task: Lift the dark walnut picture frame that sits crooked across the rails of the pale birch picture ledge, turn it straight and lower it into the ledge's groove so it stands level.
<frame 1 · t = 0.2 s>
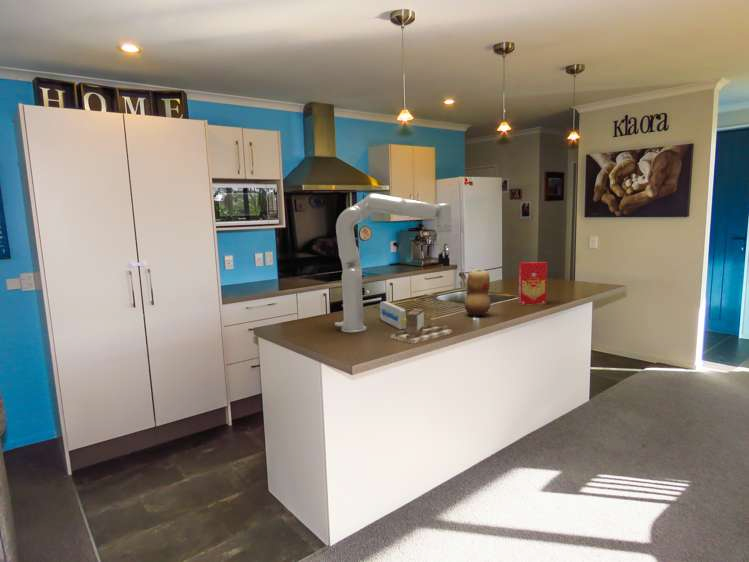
hand: (443, 265, 231), 31 cm above the worktop, tool pointing down, fingers open, 9 cm apart
butternut squash: (477, 315, 259), on the worktop
picture frame: (415, 330, 218), point 3 cm above the worktop, touching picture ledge
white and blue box: (393, 325, 242), on the worktop
food packaging: (532, 304, 285), on the worktop
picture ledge: (422, 335, 221), on the worktop
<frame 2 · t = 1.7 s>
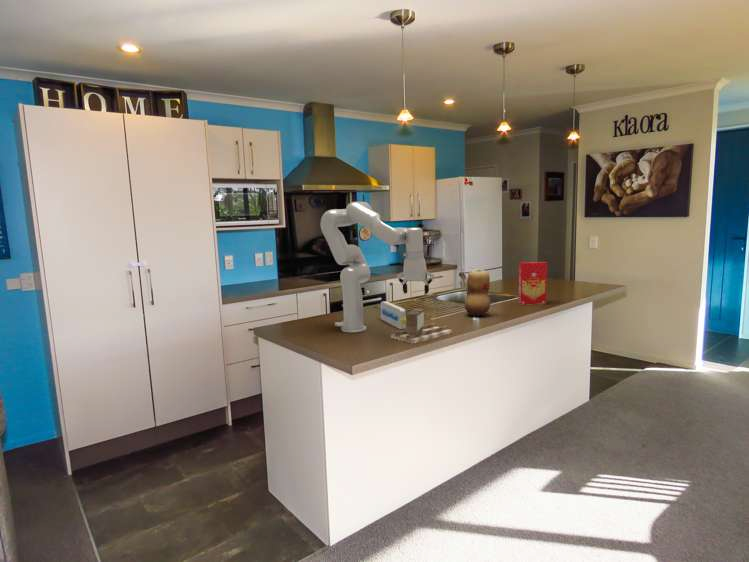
hand: (415, 293, 215), 20 cm above the worktop, tool pointing down, fingers open, 9 cm apart
nothing on the worktop moved.
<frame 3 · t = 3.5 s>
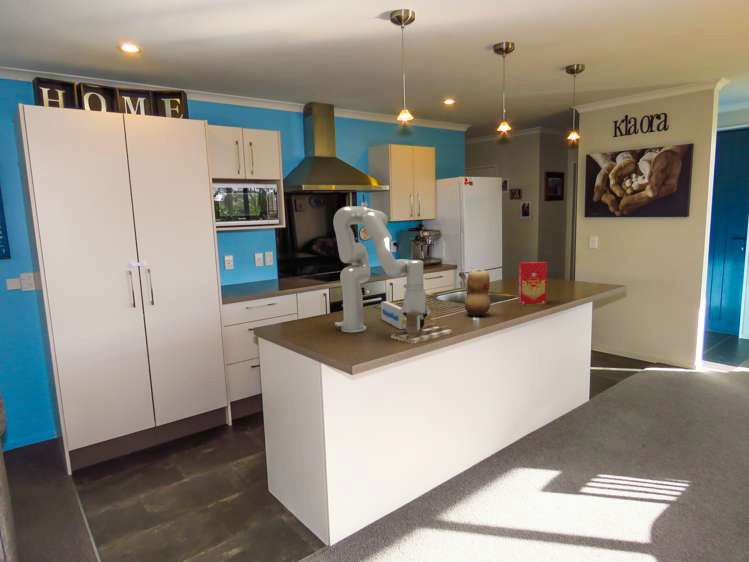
hand: (415, 326, 217), 5 cm above the worktop, tool pointing down, fingers closed on picture frame, 5 cm apart
picture frame: (415, 330, 218), point 3 cm above the worktop, touching gripper, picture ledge
everything else where it was.
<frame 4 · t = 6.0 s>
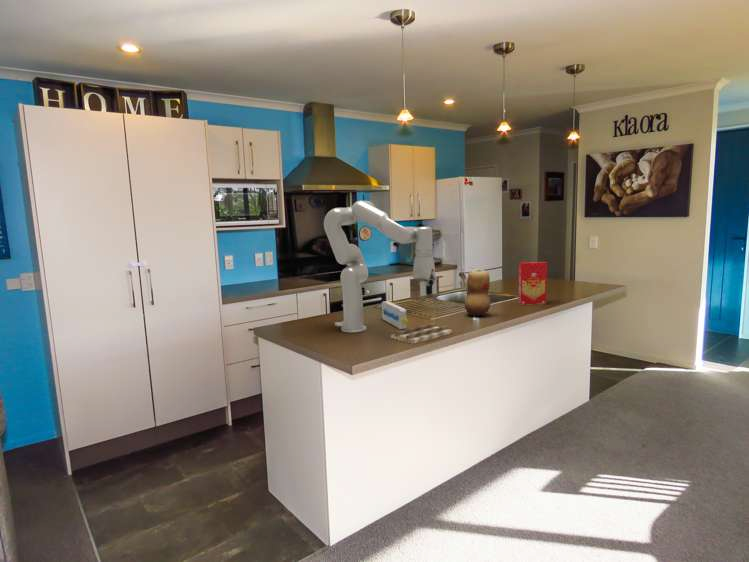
hand: (424, 293, 219), 20 cm above the worktop, tool pointing down, fingers closed on picture frame, 5 cm apart
picture frame: (424, 297, 219), point 18 cm above the worktop, touching gripper
everything else where it was.
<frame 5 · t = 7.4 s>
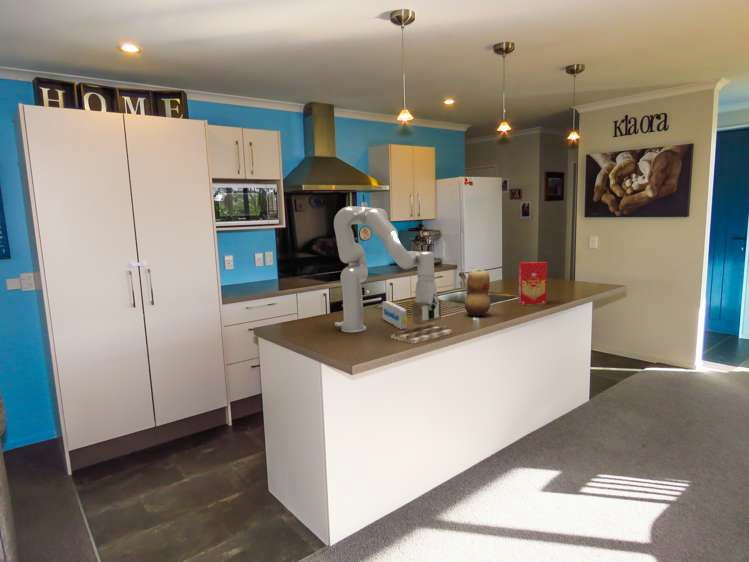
hand: (427, 317, 221), 8 cm above the worktop, tool pointing down, fingers closed on picture frame, 5 cm apart
picture frame: (427, 321, 221), point 6 cm above the worktop, touching gripper
everything else where it was.
when the fingers open (4 cm above the worktop, at t = 8.7 s): picture frame stays where it is, resting on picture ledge.
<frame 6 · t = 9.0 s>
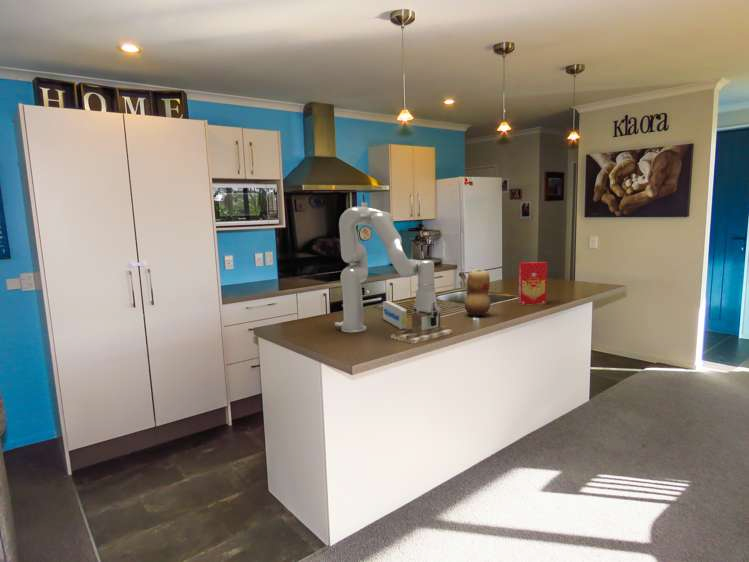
hand: (426, 323, 222), 5 cm above the worktop, tool pointing down, fingers open, 8 cm apart
picture frame: (426, 331, 222), point 1 cm above the worktop, touching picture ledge
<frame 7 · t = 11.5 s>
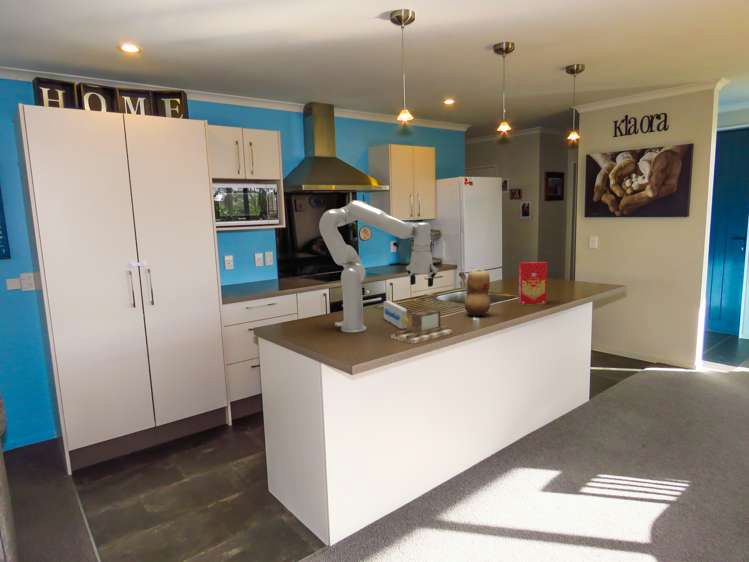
hand: (421, 285, 225), 22 cm above the worktop, tool pointing down, fingers open, 9 cm apart
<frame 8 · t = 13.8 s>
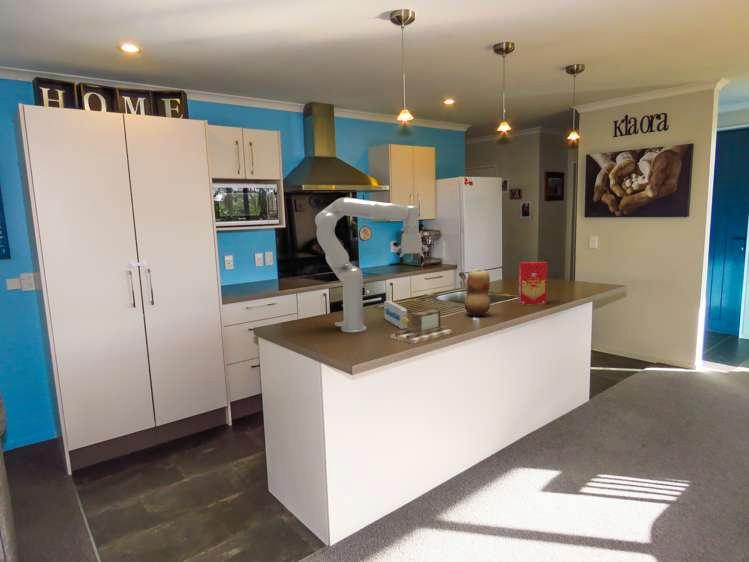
hand: (411, 264, 241), 30 cm above the worktop, tool pointing down, fingers open, 9 cm apart
at the end: picture frame 0.2 cm from the target spot on the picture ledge, point 1.5 cm above the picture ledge's base; picture frame tilted 0°; the gripper is holding nothing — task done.
